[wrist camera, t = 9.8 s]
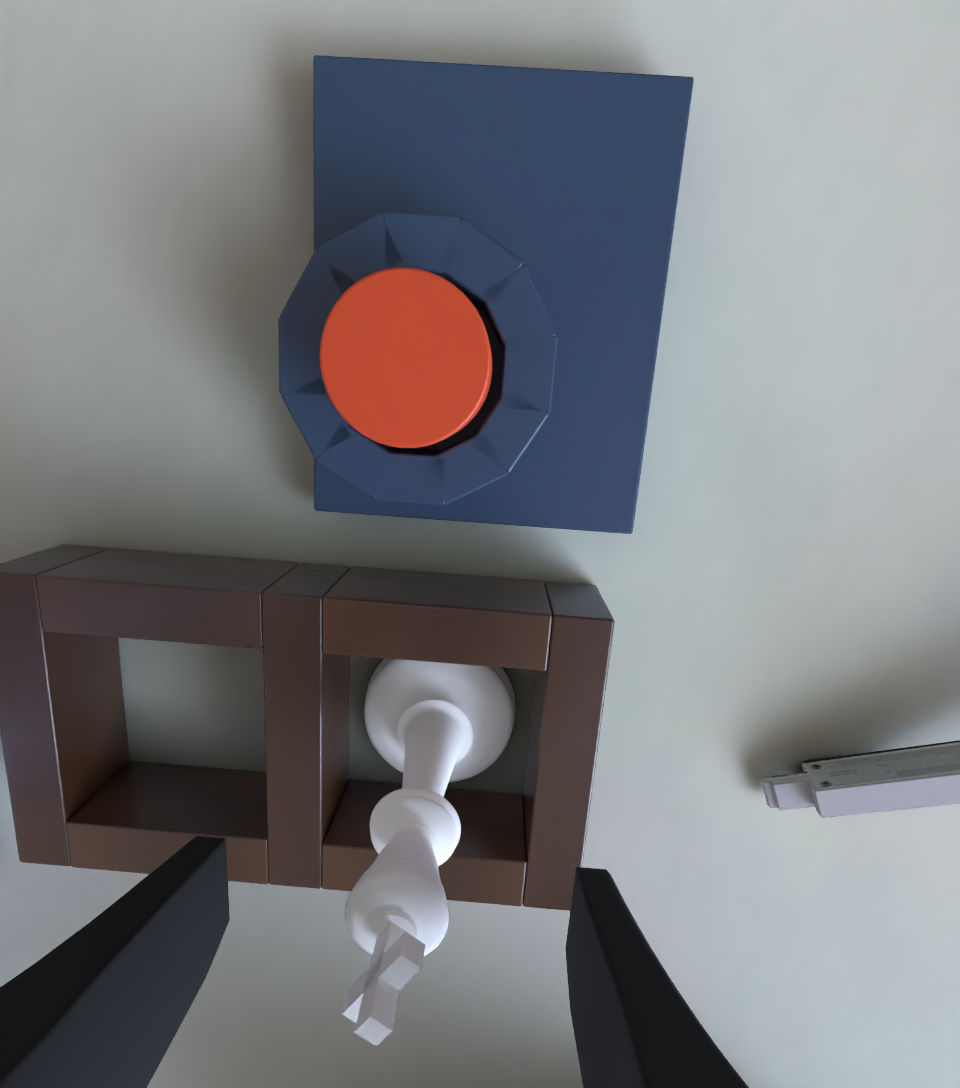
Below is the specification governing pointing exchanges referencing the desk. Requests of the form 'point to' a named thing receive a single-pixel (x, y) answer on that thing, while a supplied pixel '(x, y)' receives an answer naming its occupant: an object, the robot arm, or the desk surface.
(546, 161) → the station
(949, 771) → the caliper
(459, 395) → the station button
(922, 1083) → the desk surface
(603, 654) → the holder
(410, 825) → the chess piece
